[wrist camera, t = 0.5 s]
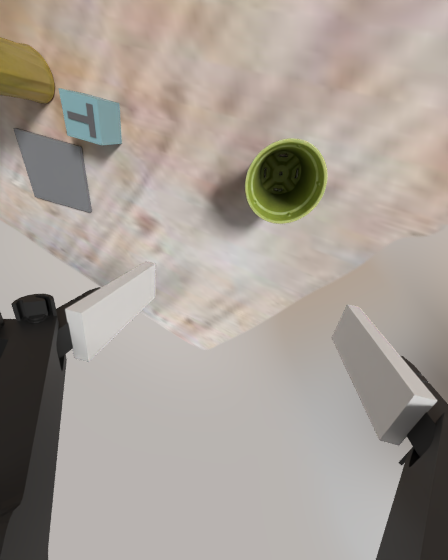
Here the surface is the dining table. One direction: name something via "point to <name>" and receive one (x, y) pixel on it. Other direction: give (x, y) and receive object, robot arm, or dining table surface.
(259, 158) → the plant pot
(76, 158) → the slate mat
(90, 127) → the letter cube
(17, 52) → the vase
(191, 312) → the dining table surface
